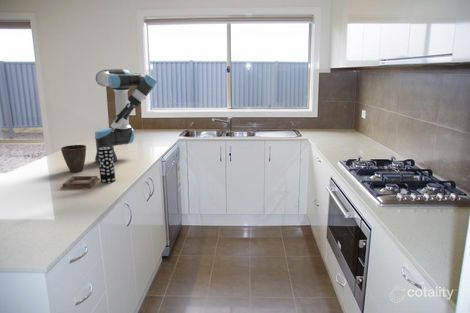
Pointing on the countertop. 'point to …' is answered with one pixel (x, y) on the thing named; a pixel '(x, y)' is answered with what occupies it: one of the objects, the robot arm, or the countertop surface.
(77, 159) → the plant pot
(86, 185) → the walnut board
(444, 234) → the countertop surface
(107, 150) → the white-spotted black cylinder
